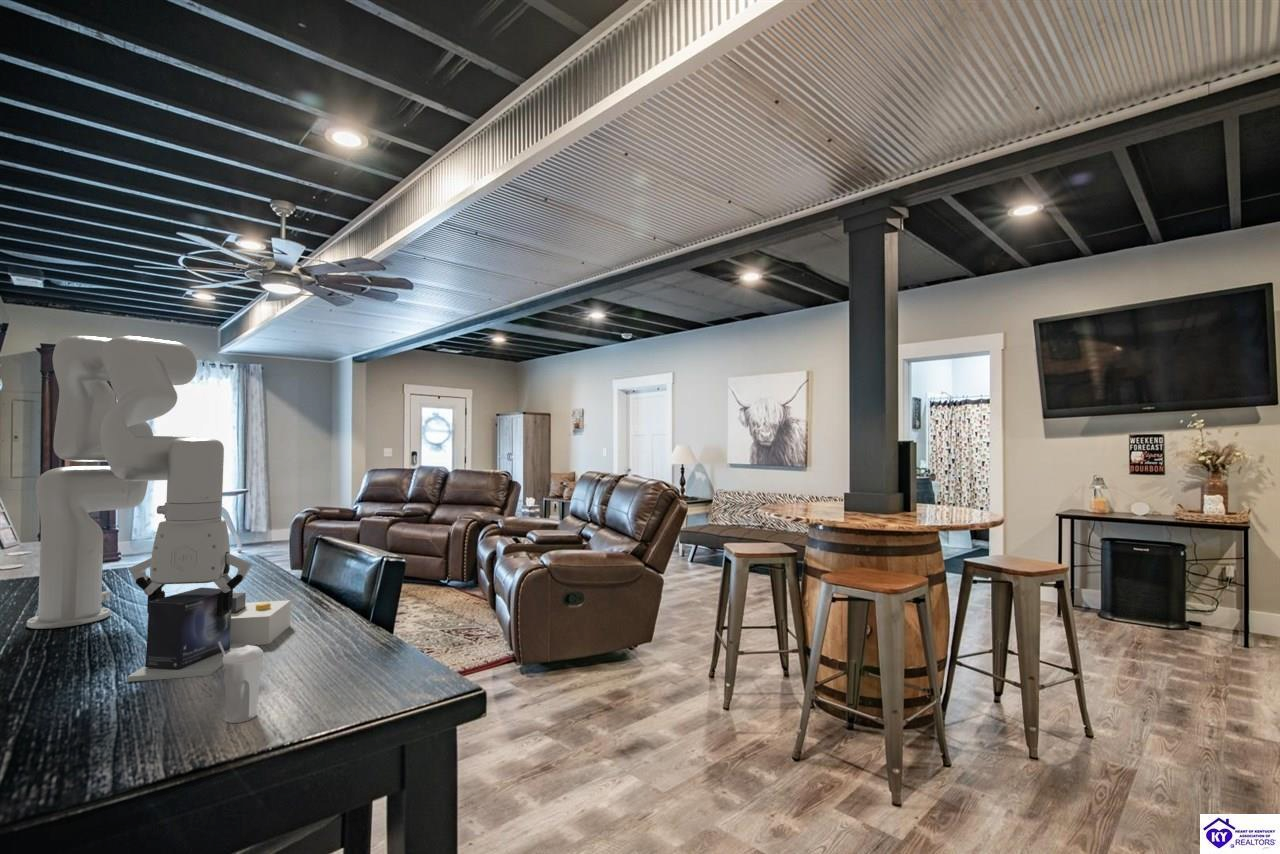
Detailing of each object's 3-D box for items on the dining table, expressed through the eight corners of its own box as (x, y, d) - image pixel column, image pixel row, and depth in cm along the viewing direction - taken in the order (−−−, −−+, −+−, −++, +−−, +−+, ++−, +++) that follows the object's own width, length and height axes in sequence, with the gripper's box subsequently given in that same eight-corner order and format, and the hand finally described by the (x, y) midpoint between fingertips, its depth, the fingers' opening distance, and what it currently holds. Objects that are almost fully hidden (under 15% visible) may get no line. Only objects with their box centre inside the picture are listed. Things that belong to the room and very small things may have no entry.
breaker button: (218, 625, 116) (219, 593, 117) (244, 624, 117) (245, 592, 118) (208, 632, 112) (209, 599, 112) (235, 630, 113) (236, 598, 113)
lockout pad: (174, 652, 107) (174, 647, 107) (245, 647, 109) (245, 642, 109) (127, 681, 93) (127, 676, 93) (209, 675, 95) (209, 670, 96)
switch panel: (210, 630, 119) (211, 600, 120) (290, 625, 123) (290, 596, 123) (180, 650, 108) (181, 616, 108) (268, 644, 111) (269, 611, 111)
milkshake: (227, 711, 82) (229, 636, 83) (268, 710, 83) (270, 635, 83) (206, 726, 78) (208, 647, 78) (250, 725, 78) (252, 646, 79)
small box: (180, 670, 95) (182, 602, 96) (142, 669, 96) (144, 601, 96) (233, 648, 106) (234, 587, 106) (198, 647, 107) (200, 586, 107)
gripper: (120, 515, 96) (115, 625, 96) (243, 515, 100) (239, 620, 100) (146, 510, 104) (142, 612, 103) (260, 509, 108) (257, 607, 107)
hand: (190, 616), depth 102 cm, fingers open, 9 cm apart
